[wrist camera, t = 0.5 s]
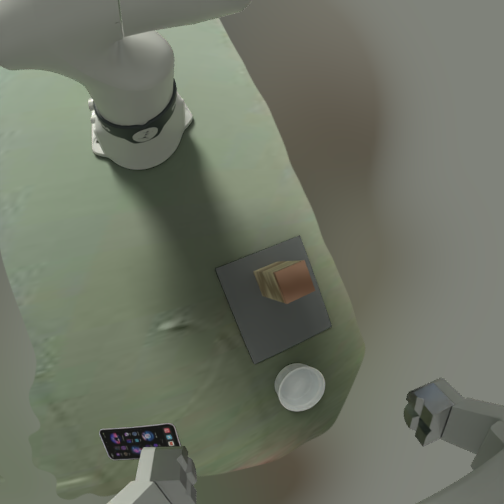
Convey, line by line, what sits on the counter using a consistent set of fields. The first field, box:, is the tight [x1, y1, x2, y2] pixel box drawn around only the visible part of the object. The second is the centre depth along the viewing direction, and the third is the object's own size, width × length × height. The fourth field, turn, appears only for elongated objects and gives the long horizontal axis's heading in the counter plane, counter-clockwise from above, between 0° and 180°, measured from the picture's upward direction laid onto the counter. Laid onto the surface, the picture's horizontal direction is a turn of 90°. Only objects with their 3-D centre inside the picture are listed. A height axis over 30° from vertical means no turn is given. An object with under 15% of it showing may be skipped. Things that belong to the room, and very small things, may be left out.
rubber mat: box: [215, 235, 332, 364], centre depth 53 cm, size 18×16×1 cm
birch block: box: [253, 260, 315, 304], centre depth 47 cm, size 4×4×12 cm
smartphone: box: [99, 423, 181, 460], centre depth 46 cm, size 8×1×15 cm
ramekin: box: [275, 363, 325, 412], centre depth 51 cm, size 9×9×4 cm
